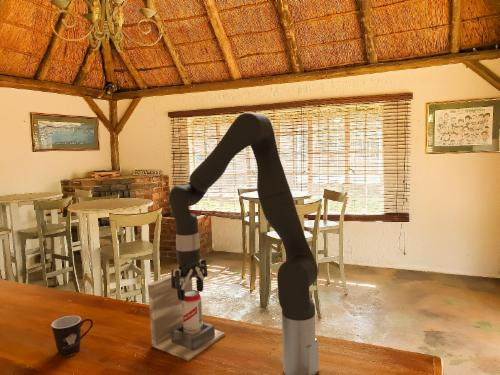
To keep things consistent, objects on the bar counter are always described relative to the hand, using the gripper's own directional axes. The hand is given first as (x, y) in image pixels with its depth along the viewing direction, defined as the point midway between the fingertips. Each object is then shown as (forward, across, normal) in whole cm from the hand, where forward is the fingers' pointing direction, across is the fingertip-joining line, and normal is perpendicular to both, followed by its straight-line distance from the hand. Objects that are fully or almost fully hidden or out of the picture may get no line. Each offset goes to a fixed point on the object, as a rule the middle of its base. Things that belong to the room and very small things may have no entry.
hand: (191, 295), depth 127 cm
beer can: (+15, 0, 0) cm, 15 cm away
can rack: (+16, 0, +2) cm, 16 cm away
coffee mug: (+16, -24, +30) cm, 42 cm away
